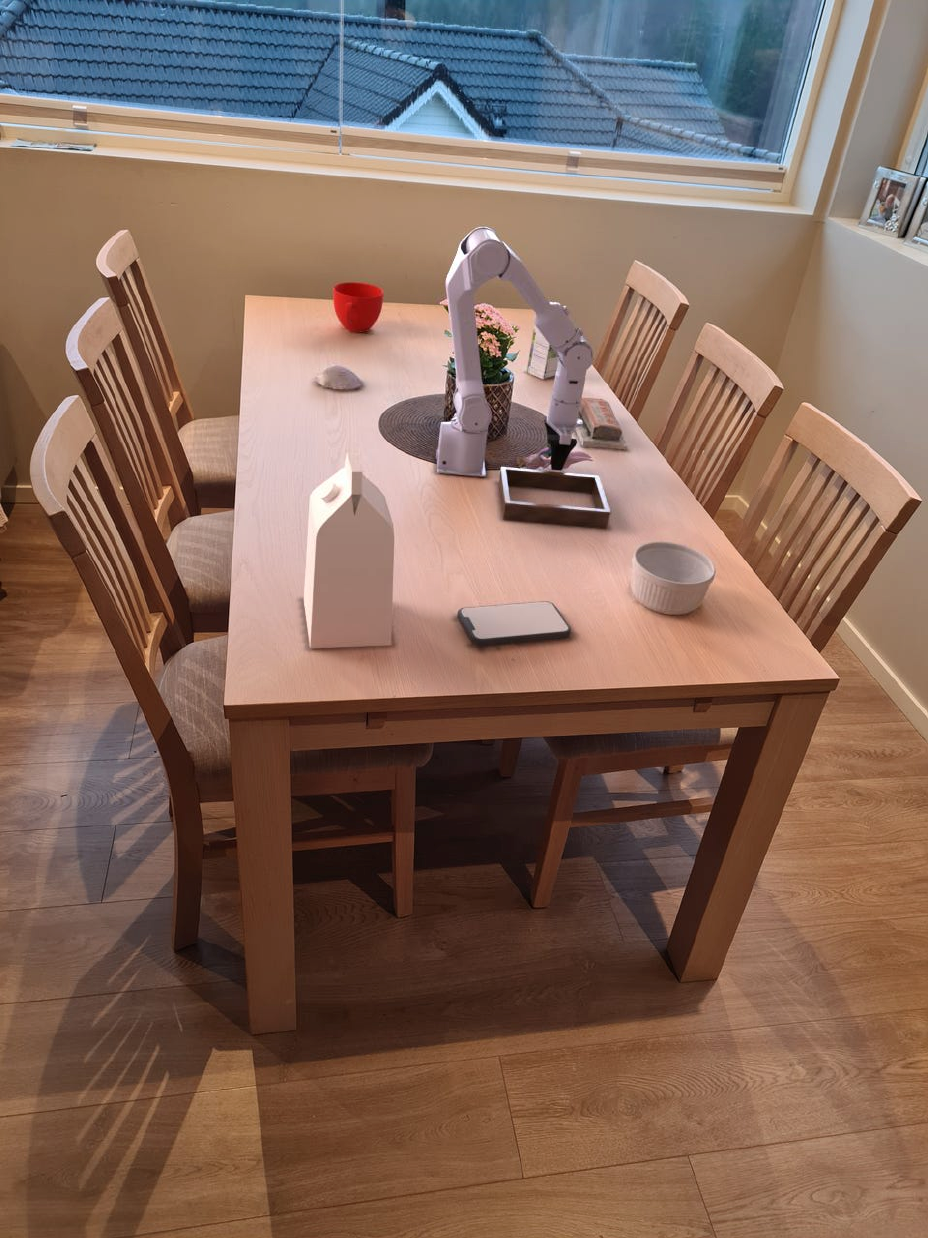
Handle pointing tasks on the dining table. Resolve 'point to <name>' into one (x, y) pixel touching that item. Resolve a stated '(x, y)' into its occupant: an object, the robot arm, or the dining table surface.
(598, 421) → the butter dish
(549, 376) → the syrup box
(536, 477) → the tray
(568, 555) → the dining table surface
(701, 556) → the ramekin
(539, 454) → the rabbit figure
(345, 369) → the seashell
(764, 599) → the dining table surface
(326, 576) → the milk
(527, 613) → the black smartphone
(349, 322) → the ceramic cup
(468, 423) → the robot arm
